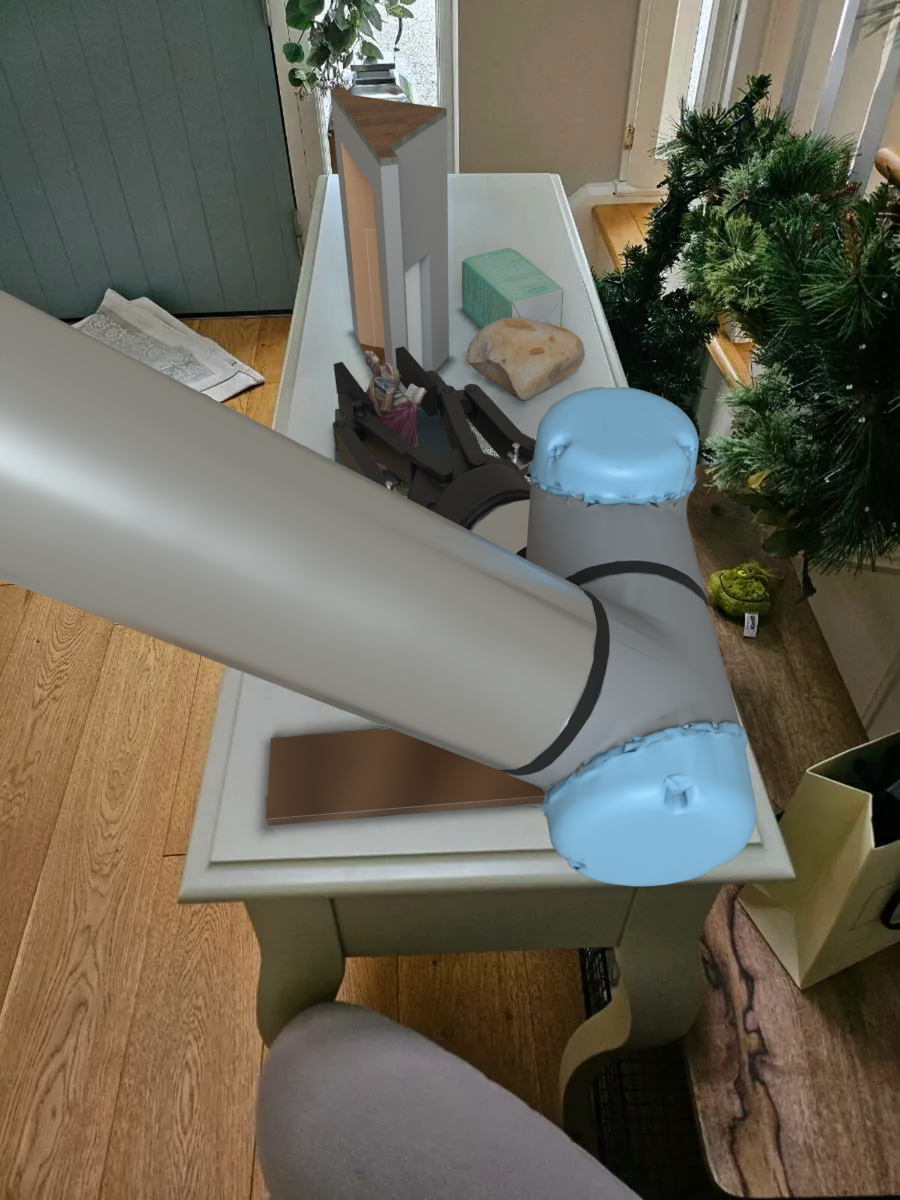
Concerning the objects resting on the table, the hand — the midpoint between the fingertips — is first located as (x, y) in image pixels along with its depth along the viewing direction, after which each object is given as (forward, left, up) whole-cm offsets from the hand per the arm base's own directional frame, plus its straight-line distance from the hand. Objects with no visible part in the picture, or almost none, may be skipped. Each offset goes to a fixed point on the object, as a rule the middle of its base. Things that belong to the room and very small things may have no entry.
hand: (370, 369), depth 70 cm
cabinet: (+5, +29, -18) cm, 35 cm away
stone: (+18, +25, -18) cm, 36 cm away
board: (+2, -27, -18) cm, 33 cm away
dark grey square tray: (+3, +10, -18) cm, 21 cm away
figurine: (+2, -5, -8) cm, 9 cm away
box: (+18, +38, -18) cm, 46 cm away
